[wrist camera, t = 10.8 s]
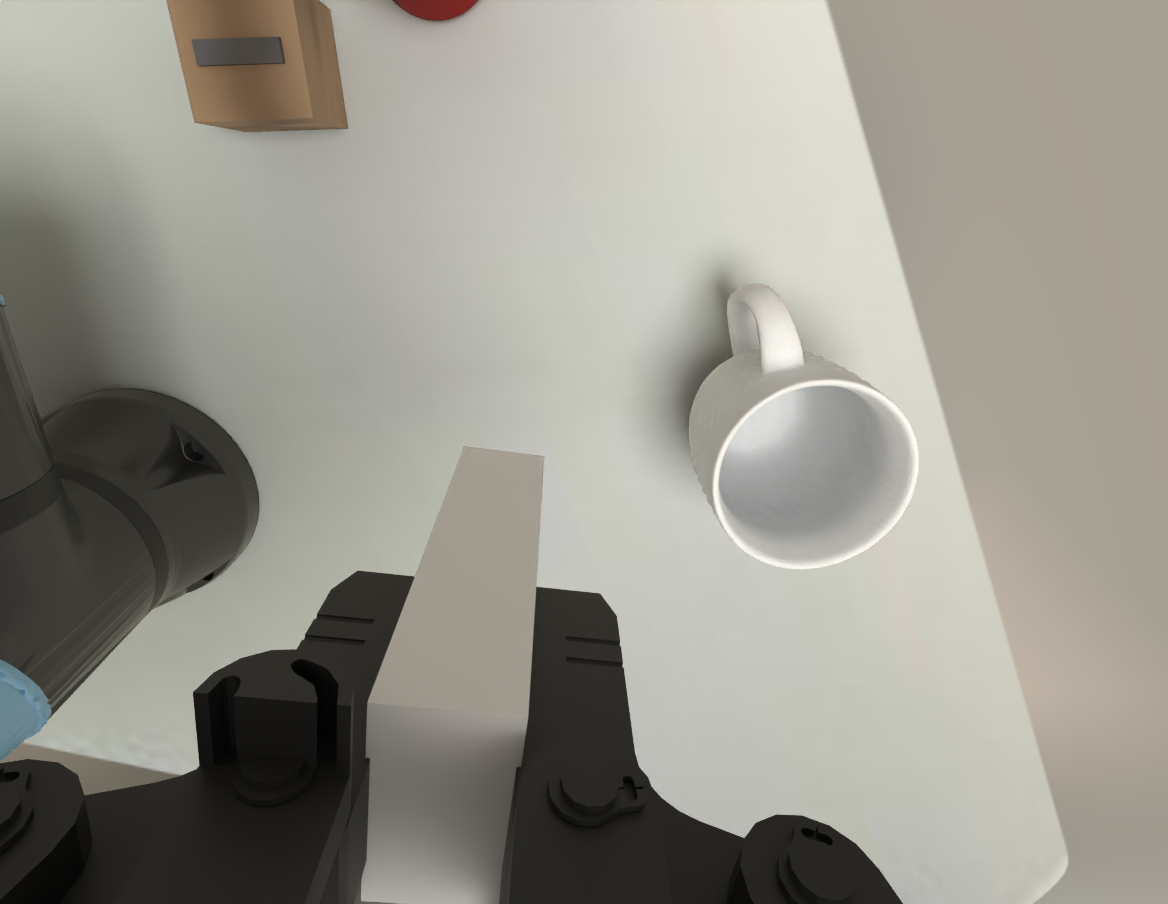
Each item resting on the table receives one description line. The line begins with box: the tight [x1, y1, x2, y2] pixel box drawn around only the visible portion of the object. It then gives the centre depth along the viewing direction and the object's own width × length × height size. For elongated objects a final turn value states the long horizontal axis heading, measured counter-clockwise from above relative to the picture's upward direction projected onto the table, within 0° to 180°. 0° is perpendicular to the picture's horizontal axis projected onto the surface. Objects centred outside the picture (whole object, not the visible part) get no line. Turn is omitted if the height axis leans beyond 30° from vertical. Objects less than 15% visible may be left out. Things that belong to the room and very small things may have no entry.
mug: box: [688, 284, 919, 569], centre depth 39 cm, size 15×11×13 cm
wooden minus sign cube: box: [166, 0, 348, 132], centre depth 35 cm, size 6×6×6 cm
